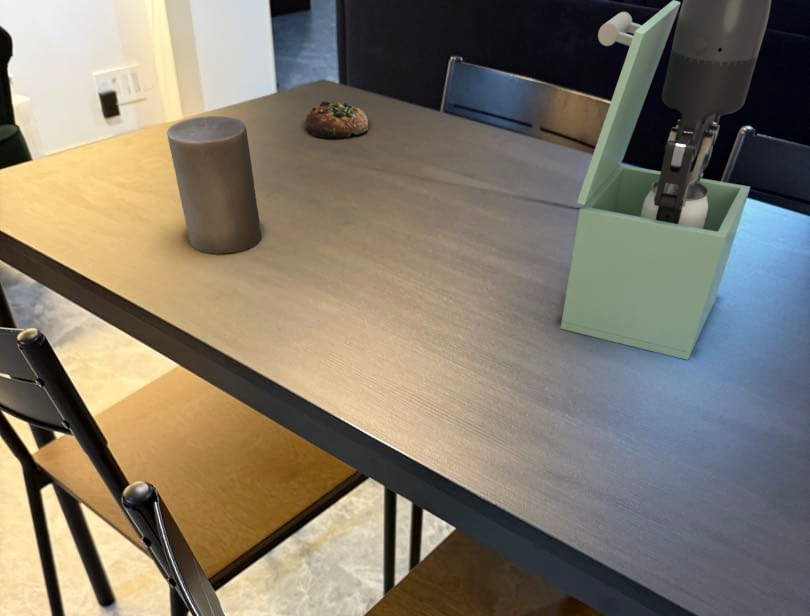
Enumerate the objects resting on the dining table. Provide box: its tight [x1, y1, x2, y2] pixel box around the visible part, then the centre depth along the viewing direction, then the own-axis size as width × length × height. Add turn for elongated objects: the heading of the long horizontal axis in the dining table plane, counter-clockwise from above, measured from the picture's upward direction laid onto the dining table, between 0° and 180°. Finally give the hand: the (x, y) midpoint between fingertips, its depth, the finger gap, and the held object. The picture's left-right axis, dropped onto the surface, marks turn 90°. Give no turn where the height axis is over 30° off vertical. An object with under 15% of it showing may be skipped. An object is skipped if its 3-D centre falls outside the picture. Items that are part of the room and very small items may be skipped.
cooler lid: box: [576, 0, 681, 206], centre depth 75 cm, size 15×14×5 cm
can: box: [641, 180, 708, 229], centre depth 81 cm, size 6×6×12 cm
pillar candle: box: [166, 115, 263, 255], centre depth 97 cm, size 10×10×15 cm
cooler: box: [560, 164, 751, 361], centre depth 83 cm, size 14×14×13 cm
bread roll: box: [305, 100, 369, 139], centre depth 132 cm, size 11×11×5 cm
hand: (670, 229), depth 80 cm, fingers closed on can, 6 cm apart
